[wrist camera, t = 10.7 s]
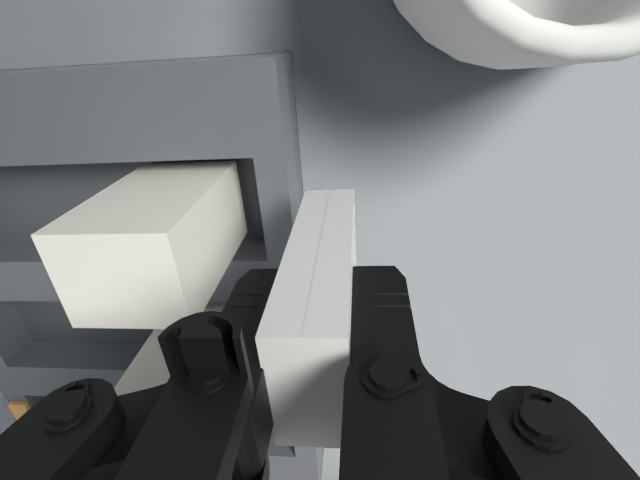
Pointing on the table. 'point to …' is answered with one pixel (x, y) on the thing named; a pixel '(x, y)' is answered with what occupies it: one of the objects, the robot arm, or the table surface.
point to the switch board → (113, 164)
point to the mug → (527, 30)
